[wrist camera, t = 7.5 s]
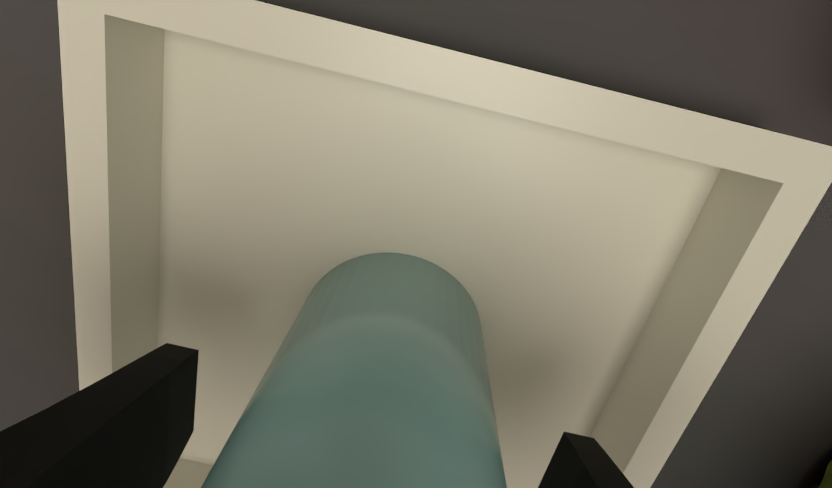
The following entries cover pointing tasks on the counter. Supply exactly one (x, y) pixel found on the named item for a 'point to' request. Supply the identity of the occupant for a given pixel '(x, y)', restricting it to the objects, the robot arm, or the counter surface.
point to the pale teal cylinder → (372, 389)
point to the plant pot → (827, 477)
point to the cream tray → (412, 215)
